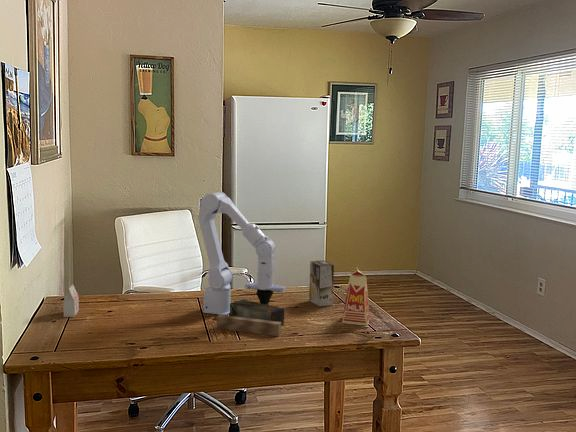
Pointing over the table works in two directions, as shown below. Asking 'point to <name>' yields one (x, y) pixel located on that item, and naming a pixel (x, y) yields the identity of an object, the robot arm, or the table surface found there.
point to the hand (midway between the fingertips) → (264, 310)
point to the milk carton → (356, 300)
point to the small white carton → (71, 303)
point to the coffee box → (321, 283)
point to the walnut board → (249, 325)
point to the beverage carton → (257, 311)
